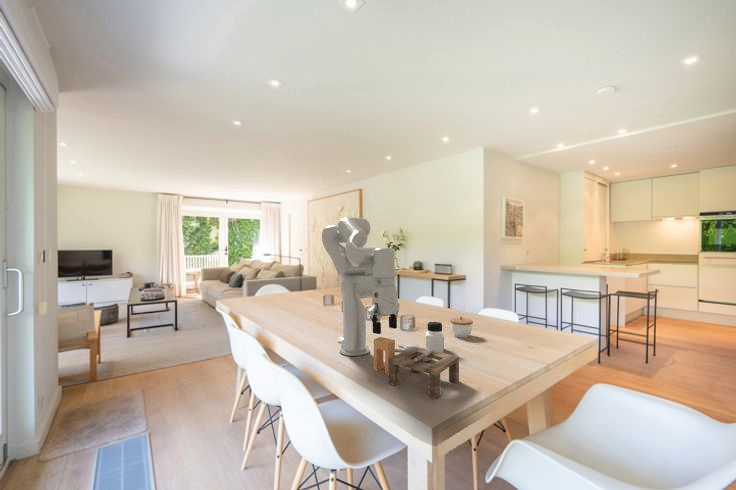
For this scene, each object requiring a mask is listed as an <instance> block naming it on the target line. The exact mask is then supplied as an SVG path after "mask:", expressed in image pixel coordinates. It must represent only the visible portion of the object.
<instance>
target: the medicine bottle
mask: <svg viewBox="0 0 736 490" xmlns="http://www.w3.org/2000/svg"><path fill="white" fill-rule="evenodd" d="M444 339H445V337H444V332H443V323H442V322H440V321H433V320H432V321H429V322H428V323H427V331H426V332H425V349H429V350H433V351H436V352H440V353H445V351H444V349H445V346H444V345H445V340H444Z"/></svg>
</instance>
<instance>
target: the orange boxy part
mask: <svg viewBox="0 0 736 490" xmlns="http://www.w3.org/2000/svg"><path fill="white" fill-rule="evenodd" d="M395 342H396V340H395V339H392V338H389V337H388V338H386V337H382V336H379V337H376V338H374V339H373V371H376V372H377V371H380V370H382V369H383V368H384V374H386V375H389V358H391V357H393V356H395V355H396V352H395V348H396V344H395Z"/></svg>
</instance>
